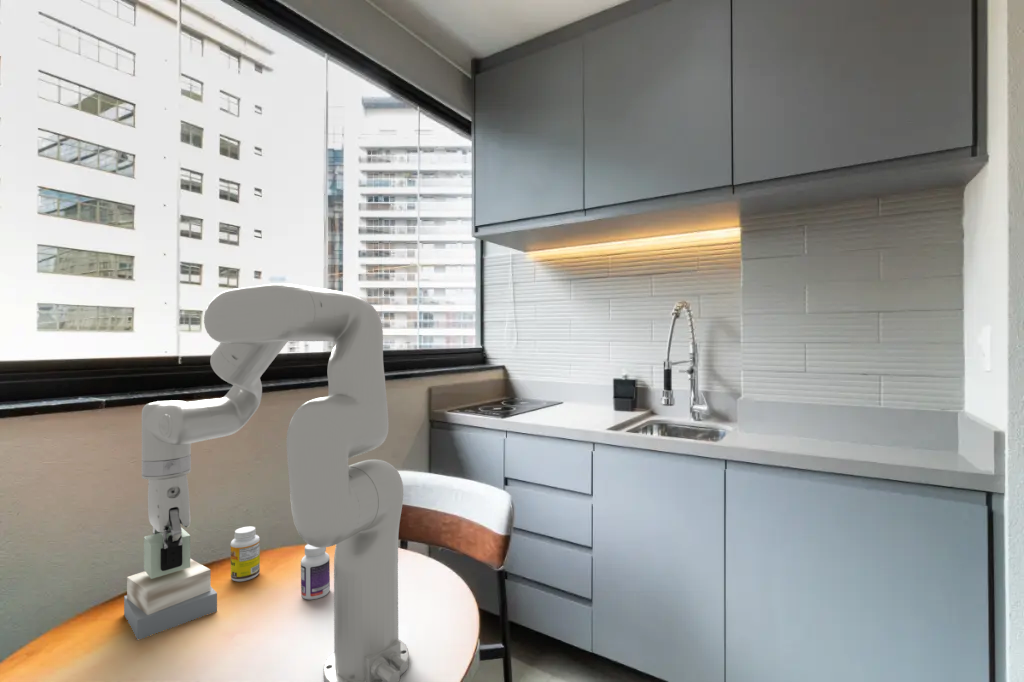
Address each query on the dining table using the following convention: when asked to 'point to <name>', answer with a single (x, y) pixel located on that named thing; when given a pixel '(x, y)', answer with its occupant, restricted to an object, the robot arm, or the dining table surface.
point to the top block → (168, 587)
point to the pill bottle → (315, 573)
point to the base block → (169, 614)
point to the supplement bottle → (245, 554)
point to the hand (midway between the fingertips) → (167, 561)
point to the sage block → (154, 554)
